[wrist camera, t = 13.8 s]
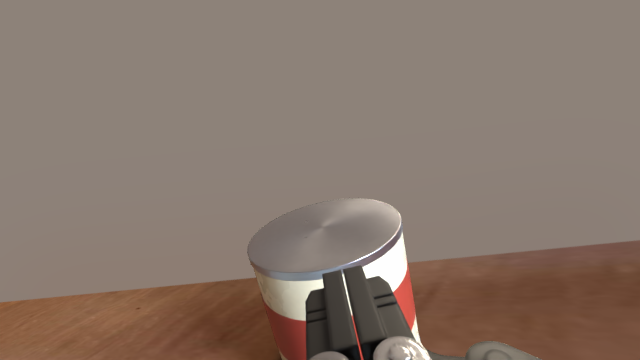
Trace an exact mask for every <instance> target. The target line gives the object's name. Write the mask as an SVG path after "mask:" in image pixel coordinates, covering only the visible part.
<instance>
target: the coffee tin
mask: <svg viewBox="0 0 640 360" xmlns="http://www.w3.org/2000/svg"><path fill="white" fill-rule="evenodd" d="M402 229H403V225H402V220H401V215H400V214H399V212H398V211H397V210H396V209H395V208H394V207H392V206H390V205H388V204H386V203H384V202H381V201H376V200H371V199H359V198H355V199H353V198H352V199H338V200H331V201H325V202H320V203H316V204H312V205H308V206H305V207H302V208H299V209H296V210H294V211H291V212H289V213H286V214H284V215H282V216H280V217H278V218H276V219H274V220H273V221H271V222H269V223H268V224H267V225H265V226H264V227H262V228H261V229H260V230H259V231H258V232H257V233H256V234H255V235H254V236H253V238H252V239H251V241H250V242H249V245H248V252H247V253H248V256H249V260H250V262H251V265H252V266H253V268H254V271H255V274H256V278H257V281H258V284H259V288H260V291H261V296H262V299H263V302H264V306H265V309H266V312H267V315H268V318H269V322H270V325H271V328H272V331H273V334H274V338H275V341H276V344H277V347H278V349H279V352H280V355H281V358H282V360H306V309H305V301H306V299H307V297H308V295H309V293H310V291H312V290H317V289H321V288H324V286H323V277H322V274H324V273H328V272H333V271H337V270H341V272H342V276H343V281H344V285H345V289H346V294H347V298H348V302H349V307H350V311H351V316H352V320H353V324H354V319H353V315H352V310H351V306H350V301H349V297H348V292H347V287H346V283H345V278H344V274H343V269H346V268H351V267H355V266H360V265H362V268H363V270H364V273H365V276H366V278H371V277H375V276H380V277H381V278H383V279H384V280H385V281H387V282H388V283H389V285H390V287H391V289H392V291H393V294H394V295H395V298H396V300H397V302H398V304H399V306H400V308H401V310H402V312H403V314H404V317H405V319H406V321H407V323H408V325H409V327H410V329H411V331H412V333H413V335H414V337H415V339H416V340H417V341H418V342H419V343H420V344H421V341H420V336H419V334H418V329H417V322H416V316H415V306H414V299H413V293H412V287H411V280H410V274H409V268H408V262H407V258H406V253H405V246H404V240H403V234H402ZM354 329H355V333H356V337H357V342H358V346H359V351H360V355H361V360H363V358H362V353H361V349H360V345H359V341H358V336H357V332H356V328H355V324H354Z"/></svg>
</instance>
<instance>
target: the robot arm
mask: <svg viewBox="0 0 640 360" xmlns="http://www.w3.org/2000/svg"><path fill="white" fill-rule="evenodd" d="M343 274H344V278H345V283H346V287H347V292H348V297H349V301H350V306H351V310H352V315H353V319H354V324H355V328H356V332H357V336H358V341H359V345H360V349H361V353H362V358H363V360H541V359H539V358H537V357H534V356H532V355H530V354H527V353H525V352H523V351H520V350H518V349H516V348H514V347H511V346H509V345H506V344H504V343H500V342H494V341H484V342H479V343H476V344H474V345H473V346H471V347H470V348H469V349H468V351H467V353H466V356H465V357H455V356H444V355H439V354H436V353H433V352H431V351H429V350H427V349H425V348H424V346H422V345H421V344H420V343H419V342H418V341H417V340H416V339H415V337H414V335H413V333H412V331H411V329H410V327H409V325H408V323H407V321H406V319H405V317H404V314H403V312H402V310H401V308H400V306H399V304H398V302H397V300H396V298H395V295H394V294H393V291H392V289H391V287H390V285H389V283H388V282H387V281H385V280H384V279H383V278H381V277H380V276H375V277H371V278H366V276H365V273H364V270H363V268H362V265H360V266H355V267H351V268H346V269H343ZM322 277H323V286H324V288H321V289H317V290H312V291H310V293H309V295H308V297H307V299H306V301H305V309H306V360H361V355H360V351H359V346H358V342H357V337H356V333H355V329H354V324H353V320H352V316H351V311H350V307H349V302H348V298H347V294H346V289H345V285H344V281H343V276H342V272H341V270H337V271H333V272H328V273H324V274H322Z"/></svg>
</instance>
